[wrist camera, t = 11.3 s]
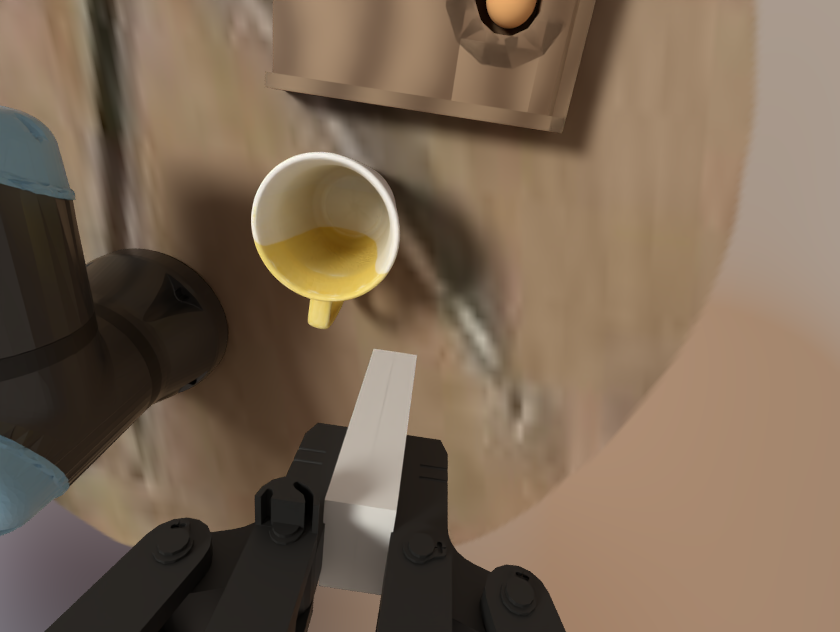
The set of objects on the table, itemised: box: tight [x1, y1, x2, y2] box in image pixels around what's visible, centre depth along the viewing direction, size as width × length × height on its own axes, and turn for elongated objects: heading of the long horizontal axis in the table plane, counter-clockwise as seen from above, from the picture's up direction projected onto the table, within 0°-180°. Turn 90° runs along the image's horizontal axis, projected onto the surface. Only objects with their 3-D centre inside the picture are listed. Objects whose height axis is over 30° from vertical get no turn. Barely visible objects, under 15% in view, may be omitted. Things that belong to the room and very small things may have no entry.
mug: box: [251, 152, 400, 329], centre depth 35 cm, size 14×10×10 cm
